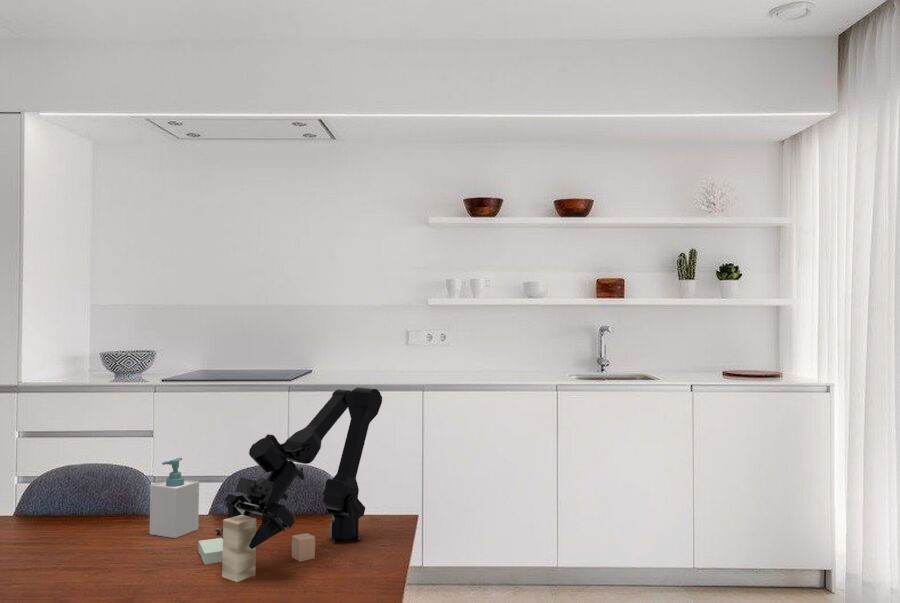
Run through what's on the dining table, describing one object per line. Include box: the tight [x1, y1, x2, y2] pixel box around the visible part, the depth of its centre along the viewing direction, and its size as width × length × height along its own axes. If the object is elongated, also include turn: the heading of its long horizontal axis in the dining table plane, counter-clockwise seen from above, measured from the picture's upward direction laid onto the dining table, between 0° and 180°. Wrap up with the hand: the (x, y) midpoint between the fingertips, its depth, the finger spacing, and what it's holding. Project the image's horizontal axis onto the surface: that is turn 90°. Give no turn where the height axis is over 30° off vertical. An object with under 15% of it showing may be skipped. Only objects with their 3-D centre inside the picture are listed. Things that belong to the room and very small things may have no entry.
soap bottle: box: [149, 457, 200, 539], centre depth 192 cm, size 9×9×19 cm
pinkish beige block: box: [291, 532, 316, 563], centre depth 173 cm, size 4×4×5 cm
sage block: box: [197, 537, 223, 565], centre depth 174 cm, size 10×10×3 cm
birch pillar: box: [221, 515, 257, 583], centre depth 161 cm, size 5×5×12 cm
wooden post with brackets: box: [215, 525, 223, 536], centre depth 193 cm, size 2×8×4 cm, turn 144°
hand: (236, 543), depth 160 cm, fingers open, 9 cm apart
